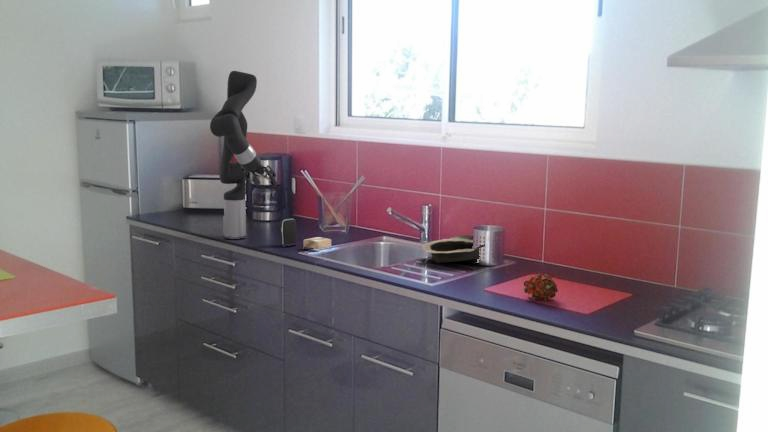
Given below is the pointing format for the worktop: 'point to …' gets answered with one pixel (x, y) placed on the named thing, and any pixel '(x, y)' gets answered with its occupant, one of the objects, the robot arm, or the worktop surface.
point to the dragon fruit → (541, 287)
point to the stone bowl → (453, 249)
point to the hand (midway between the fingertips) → (266, 184)
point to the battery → (288, 231)
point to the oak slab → (317, 243)
